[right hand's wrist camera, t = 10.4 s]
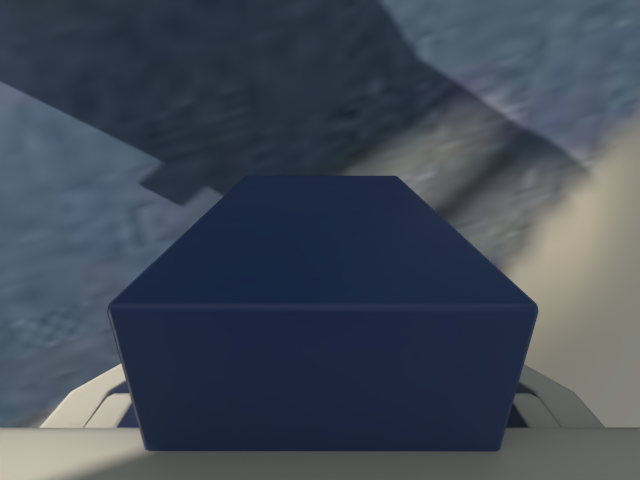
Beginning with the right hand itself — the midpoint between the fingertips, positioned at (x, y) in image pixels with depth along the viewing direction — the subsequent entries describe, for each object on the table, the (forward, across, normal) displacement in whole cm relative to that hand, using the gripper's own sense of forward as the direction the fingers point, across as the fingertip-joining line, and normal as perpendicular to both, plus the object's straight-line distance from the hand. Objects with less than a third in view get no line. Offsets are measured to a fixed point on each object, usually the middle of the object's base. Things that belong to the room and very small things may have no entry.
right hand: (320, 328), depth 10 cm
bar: (+3, 0, +7) cm, 8 cm away
